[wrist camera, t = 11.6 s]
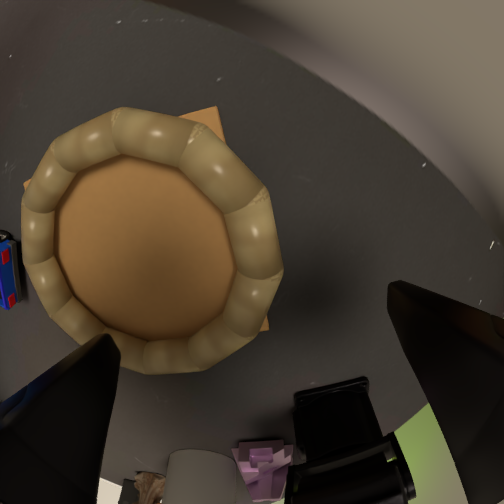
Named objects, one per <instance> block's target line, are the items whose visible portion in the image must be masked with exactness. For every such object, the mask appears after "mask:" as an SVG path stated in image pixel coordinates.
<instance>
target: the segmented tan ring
mask: <svg viewBox="0 0 504 504" xmlns="http://www.w3.org/2000/svg"><path fill="white" fill-rule="evenodd" d="M120 154H126V155H130V156H134V157H139V158H143V159H147V160H151V161H155V162H159V163H163V164H167V165H171V166H175V167H178V168H179V169H180V170H181V171H182V172H183V173H184V174H185V175H186V176H187V177H188V178H189V179H190V180H191V181H192V182H193V183H194V184H195V185H196V186H197V187H198V188H199V189H200V190H201V191H202V192H203V193H204V194H205V195H206V196H207V197H208V198H209V199H210V200H211V201H212V202H213V203H214V204H215V205H216V206H217V207H218V208H219V209H220V210H221V211H222V212H223V214H224V218H225V222H226V225H227V229H228V233H229V237H230V241H231V245H232V249H233V252H234V256H235V260H236V264H237V267H238V269H237V272H236V275H235V278H234V281H233V285H232V288H231V291H230V294H229V297H228V300H227V303H226V306H225V309H224V312H222V313H221V314H220V315H218V316H217V317H216V318H215V319H213V320H212V321H211V322H209V323H208V324H207V325H205V326H204V327H203V328H201V329H200V330H199V331H198V332H196V333H195V334H194V335H192V336H190V337H182V338H174V339H166V340H157V341H147V340H144V339H140V338H137V337H134V336H132V335H129V334H126V333H123V332H120V331H117V330H114V329H112V328H109V327H107V326H105V325H104V324H103V323H102V322H101V321H100V320H99V319H97V318H96V317H95V316H94V315H93V314H92V313H91V312H90V311H89V310H87V309H86V308H85V307H84V306H83V305H82V304H81V303H80V302H79V301H78V300H77V299H76V298H75V297H74V296H73V295H72V293H71V291H70V289H69V287H68V285H67V283H66V281H65V278H64V276H63V274H62V272H61V269H60V267H59V265H58V262H57V260H56V258H55V255H54V217H55V207H56V206H57V204H58V202H59V201H60V199H61V197H62V196H63V194H64V193H65V191H66V189H67V188H68V186H69V185H70V183H71V182H72V180H73V179H74V177H75V176H76V174H77V173H78V171H80V170H83V169H85V168H87V167H90V166H92V165H94V164H97V163H99V162H102V161H104V160H107V159H109V158H112V157H114V156H117V155H120ZM21 241H22V259H23V263H24V266H25V268H26V271H27V273H28V275H29V277H30V280H31V282H32V284H33V286H34V288H35V290H36V292H37V294H38V296H39V298H40V300H41V302H42V304H43V306H44V308H45V310H46V312H47V314H48V315H49V317H50V318H51V319H52V320H53V321H54V322H55V323H56V324H58V325H59V326H60V327H61V328H62V329H63V330H64V331H65V332H66V333H67V334H68V335H69V336H71V337H72V338H73V339H74V340H75V341H76V342H77V343H79V344H80V345H81V346H82V345H83V344H85V343H86V342H87V341H89V340H90V339H92V338H93V337H95V336H96V335H97V334H101V333H109V334H110V335H111V336H112V338H113V340H114V341H115V343H116V345H117V347H118V348H119V350H120V352H121V362H120V366H122V367H125V368H127V369H130V370H133V371H136V372H139V373H142V374H146V375H159V374H174V373H186V372H197V371H204V370H207V369H209V368H210V367H212V366H214V365H215V364H217V363H218V362H220V361H221V360H223V359H224V358H226V357H227V356H229V355H231V354H232V353H234V352H235V351H237V350H238V349H240V348H241V347H243V346H244V345H246V344H247V343H248V342H250V341H251V340H253V339H254V338H255V337H256V336H257V335H258V333H259V331H260V329H261V327H262V324H263V322H264V320H265V317H266V315H267V313H268V310H269V308H270V305H271V303H272V301H273V298H274V296H275V293H276V291H277V289H278V286H279V284H280V281H281V279H282V276H283V271H284V267H283V261H282V256H281V250H280V245H279V240H278V235H277V230H276V225H275V220H274V215H273V210H272V205H271V200H270V196H269V192H268V190H267V188H266V187H265V186H264V184H263V183H262V182H261V181H260V180H259V179H258V178H257V177H256V176H255V175H254V174H253V172H252V171H251V170H250V169H249V168H248V167H247V166H246V165H245V164H244V163H243V162H242V161H241V160H240V159H239V158H238V157H237V156H236V155H235V153H234V152H233V151H232V150H231V149H230V148H229V147H228V146H227V145H226V144H225V143H224V142H223V141H222V140H221V139H220V138H219V137H218V136H217V135H216V134H215V133H214V132H213V131H212V130H211V129H210V128H209V127H208V126H206V125H205V124H203V123H200V122H197V121H193V120H189V119H184V118H180V117H176V116H171V115H166V114H162V113H157V112H152V111H147V110H141V109H136V108H130V107H120V108H117V109H114V110H112V111H109V112H107V113H105V114H103V115H100V116H98V117H96V118H94V119H92V120H90V121H88V122H86V123H83V124H81V125H79V126H77V127H75V128H74V129H72V130H70V131H68V132H66V133H64V134H62V135H60V136H59V137H57V138H56V139H55V140H54V141H53V142H52V143H51V145H50V147H49V148H48V150H47V152H46V153H45V155H44V157H43V158H42V160H41V162H40V164H39V165H38V167H37V169H36V171H35V173H34V175H33V177H32V178H31V180H30V182H29V184H28V186H27V188H26V190H25V192H24V195H23V197H22V203H21Z"/></svg>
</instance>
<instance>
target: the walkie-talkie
mask: <svg viewBox="0 0 504 504" xmlns="http://www.w3.org/2000/svg"><path fill="white" fill-rule="evenodd" d="M135 482H136V481H132V480H127V479H124V483H123V487H122V491H121V495H120V499H119V501H118V504H132V503H134V502H137V501H138V500H139V496H138V494H139V493H140V492H139V490H138V489H137V488H135V485H134V483H135Z"/></svg>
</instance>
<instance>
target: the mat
mask: <svg viewBox="0 0 504 504" xmlns="http://www.w3.org/2000/svg"><path fill="white" fill-rule="evenodd" d="M178 117H180V118H184V119H189V120H193V121H197V122H200V123H203V124H205V125H206V126H208V127H209V128H210V129H211V130H212V131H213V132H214V133H215V134H216V135H217V136H218V137H219V138H220V139H221V140H222V141H223V142H224V143H225V144H226V141H225V137H224V133H223V128H222V124H221V120H220V116H219V111H218V108H217V107H216V106H214V107H210V108H206V109H203V110H199V111H195V112H192V113H188V114H185V115H181V116H178ZM30 180H31V179H30ZM30 180H28V181H26V182H25V183H24V188H25V190H26V188H27V186H28V184H29V182H30ZM54 255H55V258H56V260H57V262H58V265H59V267H60V269H61V272H62V274H63V276H64V278H65V281H66V283H67V285H68V287H69V289H70V291H71V293H72V295H73V296H74V297H75V298H76V299H77V300H78V301H79V302H80V303H81V304H82V305H83V306H84V307H85V308H86V309H87V310H89V311H90V312H91V313H92V314H93V315H94V316H95V317H96V318H97V319H99V320H100V321H101V322H102V323H103V324H104V325H105V326H107V327H109V328H112V329H114V330H117V331H120V332H123V333H126V334H129V335H132V336H134V337H137V338H140V339H144V340H147V341H157V340H166V339H174V338H182V337H190V336H192V335H194V334H195V333H196V332H198V331H199V330H200V329H201V328H203V327H204V326H205V325H207V324H208V323H209V322H211V321H212V320H213V319H215V318H216V317H217V316H218V315H220V314H221V313H222V312H224V309H225V306H226V303H227V300H228V297H229V294H230V291H231V288H232V285H233V281H234V278H235V275H236V272H237V269H238V267H237V264H236V260H235V256H234V252H233V249H232V245H231V241H230V237H229V233H228V229H227V225H226V222H225V218H224V214H223V212H222V211H221V210H220V209H219V208H218V207H217V206H216V205H215V204H214V203H213V202H212V201H211V200H210V199H209V198H208V197H207V196H206V195H205V194H204V193H203V192H202V191H201V190H200V189H199V188H198V187H197V186H196V185H195V184H194V183H193V182H192V181H191V180H190V179H189V178H188V177H187V176H186V175H185V174H184V173H183V172H182V171H181V170H180V169H179V168H178V167H175V166H171V165H167V164H163V163H159V162H155V161H151V160H147V159H143V158H139V157H134V156H130V155H126V154H120V155H117V156H114V157H112V158H109V159H107V160H104V161H102V162H99V163H97V164H94V165H92V166H90V167H87V168H85V169H83V170H80V171H78V173H77V174H76V176H75V177H74V179H73V180H72V182H71V183H70V185H69V186H68V188H67V189H66V191H65V193H64V194H63V196H62V197H61V199H60V201H59V202H58V204H57V206H56V207H55V217H54ZM266 330H269V323H268V319H267V315H266V317H265V320H264V322H263V324H262V327H261V329H260V331H266ZM260 331H259V332H260Z"/></svg>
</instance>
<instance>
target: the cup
mask: <svg viewBox="0 0 504 504" xmlns="http://www.w3.org/2000/svg"><path fill="white" fill-rule="evenodd" d="M236 467H237V465H236V464H235V462H234V461H233V459H231V458H229V457H227V456H225V455H223V454H219V453H215V452H211V451H207V450H196V449H186V450H177V451H175V452H173V453H171V454H170V458H169V463H168V469H167V474H166V480H165V486H164V492H163V498H162V504H236Z"/></svg>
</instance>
